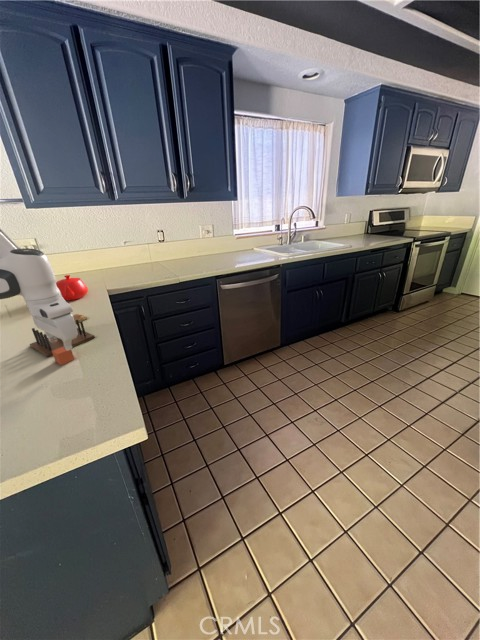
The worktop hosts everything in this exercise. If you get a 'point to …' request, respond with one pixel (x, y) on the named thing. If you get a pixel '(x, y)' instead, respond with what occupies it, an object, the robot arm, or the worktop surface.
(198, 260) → the worktop surface
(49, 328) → the robot arm
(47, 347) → the dish rack
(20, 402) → the worktop surface
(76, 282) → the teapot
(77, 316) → the shard
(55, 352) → the block
